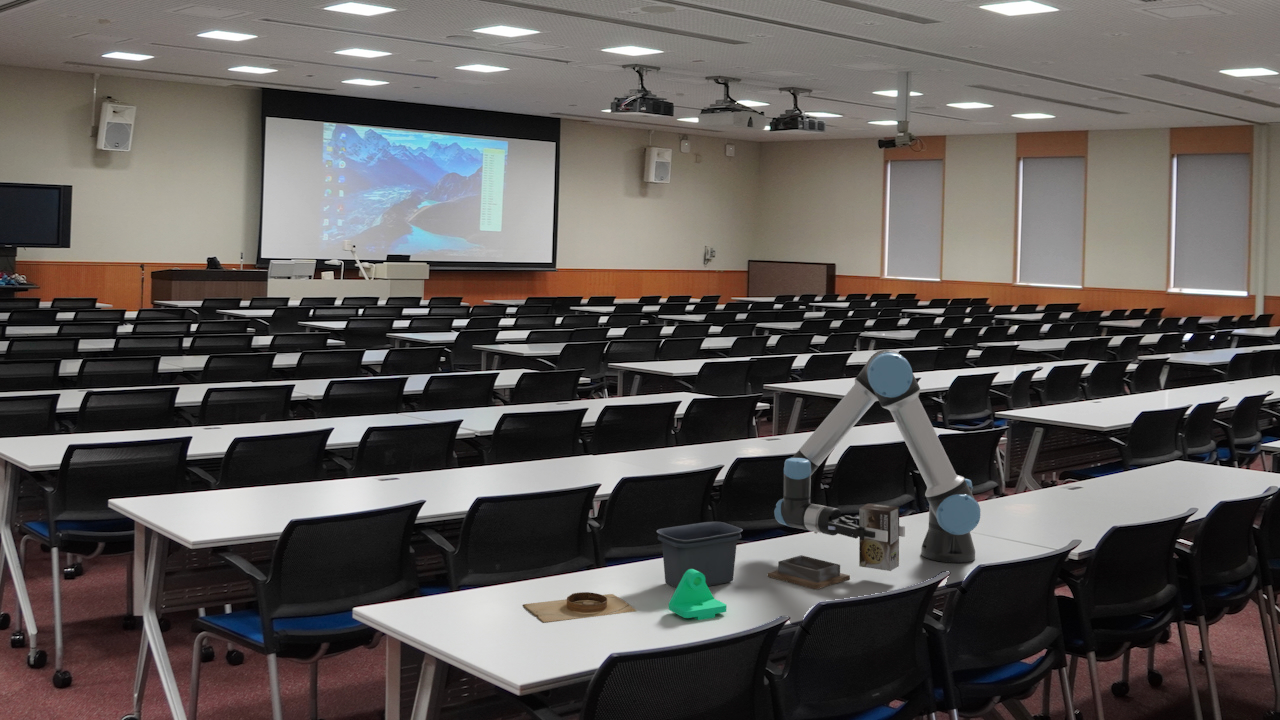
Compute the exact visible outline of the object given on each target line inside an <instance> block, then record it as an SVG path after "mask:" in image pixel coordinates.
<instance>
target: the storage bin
mask: <svg viewBox="0 0 1280 720" xmlns="http://www.w3.org/2000/svg"><path fill="white" fill-rule="evenodd" d="M743 530H744V529H743V528H741V527H739V526H735V525H733V524H728V523H727V522H724V521H723V522H722V521H706V522H705V521H704V522H698V523H692V524H691V523H690V524H685V525H678V526H677V525H676V526H671V527H664V528H659V529H657V530H656V533H657V534H658V535H657V540H658V541H660V542H661V544H662V546H661V547H662V548H661V549H662V556H663V557H662V558H663V569H664V570H663V571H664V581H665V584H667V585H668V586H671V587H673V588H676V589H677V587H678V585H679V583H680V581H681V579H682V577H683V575H684V574H685V572H686V571H687V570H689V569H694V570H696V571H699V572H701V573H703V574H704V576H705V583H706V584H707V586H708V587H711V586H716V585H722V584H723V585H724V584H726V583H727V584H728V583H731V582H733V581H734V572H735V563H736V555H737V553H736V551H737V545H738V544H737V543H738V540H740V539H742V534H741V533H742V532H743Z"/></svg>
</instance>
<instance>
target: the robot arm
mask: <svg viewBox="0 0 1280 720" xmlns="http://www.w3.org/2000/svg"><path fill="white" fill-rule="evenodd" d="M920 393H921V387H920V385H919V383H918V381H917V379H916V377H915V375H914V373H913V369H912V365H911V364H910V362H909V361H908V359H907V358H905V357H904V356H903V355H902V354H900V353H899V352H897V351H895V350H892V349H881V350H878V351H877V352H875V353H873V355H871V356H870V358H869V359H868V360H867V362H865V364H864V366H863V368H862V369H861V370H860V372H859V374H858V375H857V376H856V377H855V378H854V385H853V386H852V387H851V388H850V389H849V390H848V391H847V393H846V394H845V395H844V396H843V397H842V399H841V400H840V401H839V402H838V403H837V405H836V406H835V407H834V408H833V409H832V410H831V412H830V413H829V414H828V415H827V416H826V417H825V418H824V420H823V421H822V422H821V423H820V425H818V427H817V428H816V429H815V430H814V432H813V433H812V434H811V435H810V436H809V437H808V438H807V440H806V441H805V442H804V443H803V444H802V445H801V447H800V448H799V449H798V450H797V451H796V452H795V454H794V455H792V456H791V457H789V458H786V459H785V461H784V467H783V498H780V499H779V500H778V501H777V502H776V504H775V508H774V510H773V513H774V518H775V520H776V522H778V524H781V525H784V526H787V527H790V528H796V529H802V530H807V531H811V532H814V534H816V535H817V534H818V533H820V534H824V535H829V536H837V535H838V534H839V535H841V536H845V537H849V538H853V539H858V538H859V537H860V540H864V536H865V538H869V539H874V540H878V541H883V542H888V531H883V530H878V529H873V528H868V527H866V528H865V530H864V528H863V527H860V526H859V514H856V515H854V516H852V515H844V514H843V512H842V511H841V510H840V508H837V507H832V506H826V505H824V504H823V505H821V504H815V503H811V486H812V479H811V478H812V475H813V474H814V473H815V472H816V471H817V469H818V468H819V466H821V464H822V463H823V462H824V461H825V460H826V458H827V457H828V456H829V455H830V454H831V453H832V452H833V451H834V449H835V448H836V447H837V446H838V445H839V444H840V443H841V441H842V440H843V439H844V438H845V437H846V435H848V433H849V432H850V431H851V430H852V429H853V428H854V426H855V425H857V423H858V422H859V421H860V419H861V418H862V417H864V415H865V414H866V412H868V410H869V409H871V407H872V406H873V405H874V403H875V402H879V404H880V406H881V407H882V408H883V409H885V410H888V411H889V412H890V414H891V416H892V418H893V420H894V422H895V425H896V427H897V428H898V431H899V433H900V435H901V437H902V438H903V440H904V442H905V444H906V446H907V448H908V451H909V453H910V455H911V457H912V458H913V461H914V463H915V464H916V467H917V469H918V471H919V473H920V475H921V477H922V479H923V481H924V483H925V485H926V490H925V494H924V495H925V497H926V500H927V502H928V504H929V508H928V509H929V510H928V527H927V528H928V529H927V531H926V534H925V537H924V540H923V542H922V544H921V547H920V548H921V550H920V552H921V553H920V554H921V556H922V557H924V558H926V559H929V560H931V561H935V562H936V561H937V562H943V563H956V564H957V563H969V562H973V561H974V560H975V559H976V549H975V545H974V541H973V537H972V534H971V532H972V531H973V530H974V529H976V528H977V526H978V525H979V523H980V519H981V508H980V507H981V506H980V505H979V503H978V501H977V500H976V499H975V496H974V495H973V489H974V487H973V482H972V480H971V479H968V478H965V477H964V476H962V475H958V474H957V473H956V470H955V469H954V467H953V465H952V463H951V461H950V459H949V456H948V455H947V453H946V451H945V449H944V446H943V445H942V442H941V441H940V439H939V436H938V434H937V433H936V432H937V431H936V430H935V428H934V426H933V424H932V422H931V420H930V418H929V416H928V414H927V412H926V410H925V408H924V406H923V403H922V402H921V400H920V397H919V396H920ZM899 537H900V538H901V537H902V538H904V537H906V526H905V525H900V524H899Z"/></svg>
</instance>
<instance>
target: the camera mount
mask: <svg viewBox="0 0 1280 720" xmlns="http://www.w3.org/2000/svg"><path fill="white" fill-rule="evenodd" d="M668 610H669V611H671V612H673V613H675V614H676V615H678V616H680V617H682V618H684V619H690V618H691V619H692V618H694V619H695V620H696V621H701V620H707V619H714V618H715V619H716V614H723V613H726V612H727V604H726V603H725V602H722V601H720V600H718V599H716V598H715V596H714V595H713V593H712V592H711V590H710V588H709V586H707V584H706V583H705V576H704V574H703V573H701V572H699V571H696V570H694V569H689V570H687V571H686V572H685V574H684V575H683V577H682V579H681V581H680V583H679V585H678V587H677V588H676V589H675V590H674V592H673V594H672V596H671V598H670V600H669V602H668Z"/></svg>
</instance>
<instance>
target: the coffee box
mask: <svg viewBox="0 0 1280 720" xmlns="http://www.w3.org/2000/svg"><path fill="white" fill-rule="evenodd" d="M858 509H859V510H858V511H859V513H858V516H859V526H860V527H863V528H864V530H865V528H866V527H868V528H873V529H878V530H883V531H888V542H883V541H878V540H874V539H869V538H865V536H864V540H860V537H858V538H859V543H858V544H859V548H858V549H859V552H858V553H859V559H858V560H859V561H858V564H859V565H858V566H859V567H860V568H861V567H862V568H868V569H874V570H880V571H888V572H892V571H893V570H895V569H897V568H898V567H899V566H900V536H899V525H900V507H899V506H896V505H895V506H894V505H885V504H876V503H866V504H864V505H863V506H861V507H859V508H858Z"/></svg>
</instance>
